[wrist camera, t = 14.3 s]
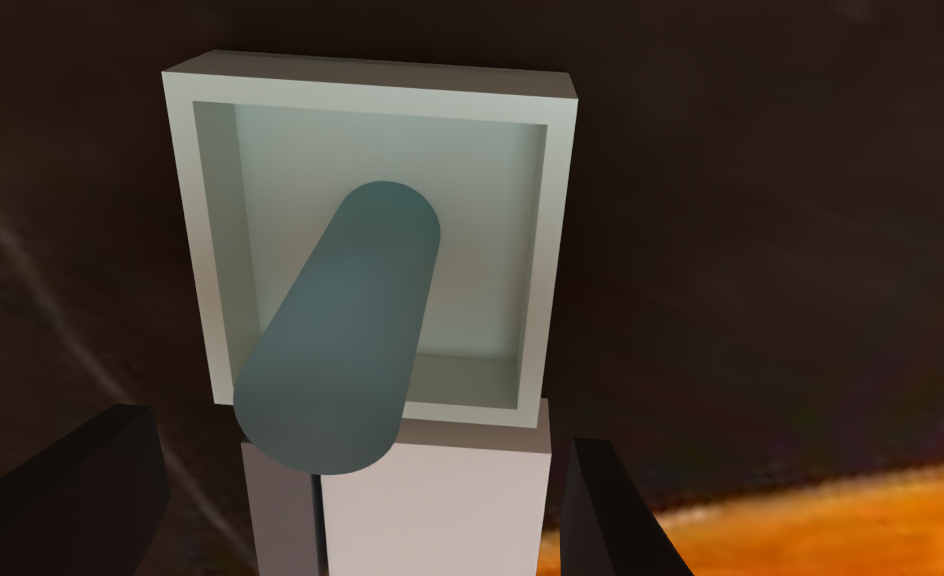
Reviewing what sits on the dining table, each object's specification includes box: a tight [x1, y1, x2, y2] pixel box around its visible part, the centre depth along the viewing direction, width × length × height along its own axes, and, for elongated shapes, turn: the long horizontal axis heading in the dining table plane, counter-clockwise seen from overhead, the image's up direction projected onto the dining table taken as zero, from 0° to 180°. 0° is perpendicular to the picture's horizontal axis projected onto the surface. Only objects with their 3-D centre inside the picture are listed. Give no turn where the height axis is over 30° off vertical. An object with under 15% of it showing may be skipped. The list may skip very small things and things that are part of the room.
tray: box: [161, 50, 578, 428], centre depth 18 cm, size 9×9×3 cm
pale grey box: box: [321, 398, 551, 576], centre depth 23 cm, size 8×7×3 cm
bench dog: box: [241, 435, 329, 576], centre depth 23 cm, size 8×2×3 cm, turn 177°
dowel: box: [233, 181, 441, 475], centre depth 16 cm, size 3×3×8 cm
